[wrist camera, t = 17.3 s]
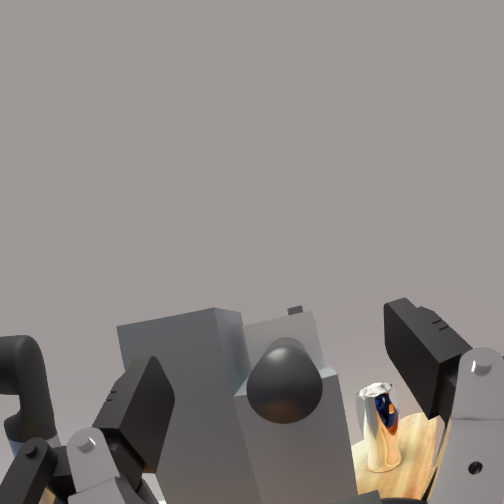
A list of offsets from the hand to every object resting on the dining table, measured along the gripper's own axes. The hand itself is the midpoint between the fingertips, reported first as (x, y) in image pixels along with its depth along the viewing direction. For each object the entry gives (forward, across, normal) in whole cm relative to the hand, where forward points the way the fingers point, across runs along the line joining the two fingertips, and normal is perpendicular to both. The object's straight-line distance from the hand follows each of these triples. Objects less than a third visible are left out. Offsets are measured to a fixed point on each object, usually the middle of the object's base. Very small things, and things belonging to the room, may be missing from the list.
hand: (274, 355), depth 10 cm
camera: (+13, 0, -13) cm, 18 cm away
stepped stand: (+5, -6, -36) cm, 37 cm away
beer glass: (+17, +12, -43) cm, 48 cm away
